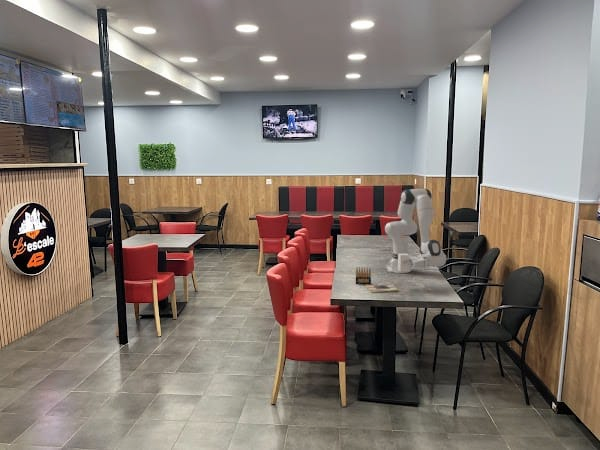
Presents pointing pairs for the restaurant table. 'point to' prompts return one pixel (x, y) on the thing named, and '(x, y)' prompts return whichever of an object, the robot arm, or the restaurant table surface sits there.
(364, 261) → the restaurant table surface
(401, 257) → the block
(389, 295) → the restaurant table surface
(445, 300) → the restaurant table surface
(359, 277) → the ammunition clip
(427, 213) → the robot arm
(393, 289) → the header board
